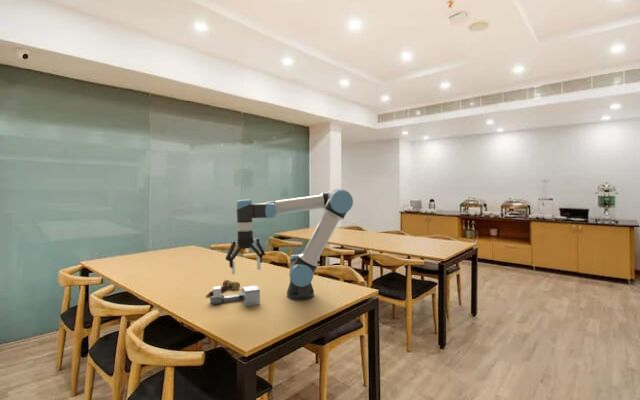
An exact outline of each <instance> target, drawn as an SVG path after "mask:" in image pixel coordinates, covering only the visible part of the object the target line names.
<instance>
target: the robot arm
mask: <svg viewBox="0 0 640 400" xmlns="http://www.w3.org/2000/svg"><path fill="white" fill-rule="evenodd" d="M236 201H237V202H236V219H237V221H236V222H237V224H236V226H237V229H236V230H237V240H231V242H230V243H231V244H230V247H229V249H228V252H227V253H226V256H225V260H226V261H228V262H229V268H230V269H231V274H232V275H233V276H234V275H235V274H236V270H235V269H236V268H235V267H236V266H235V265H236V264H235V261H234V260H235V259H236V258H237V256H238V255H239V253H240V252H241V250H245V249H250V248H251V249H252V251H253V253H255V254H256V255H257V256H256V267H257V268H256V269H257V270H258V271H261V267H262V266H261V264H262V263H263V256H265V255H266V253H265V251H264V249H263V247H262V245H261V243H260V239H259V238H258V237H256V238H255V237H254V234H253V233H254V232H253V227H254V225H253V219H271V218H275V217H276V216H277V215H281V214H289V213H297V212H304V211H312V210H319V209H322V210H323V214H322V216H321V219H320V220H319V222H318V224H317V225H316V227H315V229H314V231H313V233H312V234H311V237H310V239H309V240H308V242H307V244H306V245H305V247H304V249H303V251H302V253H300V254H299V253H298V254H292V255H290V257H289V284H288V288H287V290H286V297H288V299H291V300H298V301H299V300H301V301H302V300H309V299H312V298H313V297H314V296H315V291H314V288H313V284H312V281H313V278H314V274H315V272H316V270H317V268H318V267H319V264H318V260H319V259H320V257H321V254H322V253H323V252H324V249H325V248H326V245H327V244H328V242H329V240H330V238H331V236H332V234H333V233H334V231H335V229H336V227H337V225H338V223H339V221H342V220H344V219H345V217H346V215H347V213H348V212H349V211H350V210H352V207H353V205H354V198H353V195H352V194H351V193H350V192H349V191H347V190H346V189H341V188H340V189H339V188H337V189H333V190H330V191H326V192H321V193H320V194H318V195H310V196H309V195H308V196H302V197H294V198H286V199H279V200H272V201H271V200H270V201H267V200H266V201H263V202H262V203H254V202H253V201H252V199H238V200H236ZM254 243H255V244H256V247H257V248H256V247H255V246H254V245H253V244H254ZM236 246H237V247H236ZM235 248H236V249H235Z"/></svg>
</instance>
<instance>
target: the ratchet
mask: <svg viewBox="0 0 640 400" xmlns="http://www.w3.org/2000/svg"><path fill="white" fill-rule="evenodd" d="M221 287H222V286H220V285H219V286H213V289H212V291H213V296H210V298H209V300H210V305H211V304H212V306H220V305H223V304H225V303H226V304H227V303H233V302H238V301H241V302H242V292H238V293H237V294H231V295H223V294H222V292H221Z"/></svg>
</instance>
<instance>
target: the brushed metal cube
mask: <svg viewBox="0 0 640 400" xmlns="http://www.w3.org/2000/svg"><path fill="white" fill-rule="evenodd" d="M241 290H242V291H241V293H242V301H241V302H242V304H243V306H244V307H245V308H246V307H251V306H253V307H254V306H260V305H261V295H260V294H261V290H260V287H258V285H247V286H242V289H241Z"/></svg>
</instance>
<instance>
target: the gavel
mask: <svg viewBox="0 0 640 400" xmlns="http://www.w3.org/2000/svg"><path fill="white" fill-rule="evenodd" d="M220 287H221V293H222V292H225V291H227V290H228V289H230V290H235V291H237V290H239V289H240V288H241V283H240V282H238V281H231V280H228V279H224V280H223V282H222V286H220ZM209 296H210V297H211V296H213V290H212V291H209V292H208V293H207V294H206V295H205V297H206V298H209Z"/></svg>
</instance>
